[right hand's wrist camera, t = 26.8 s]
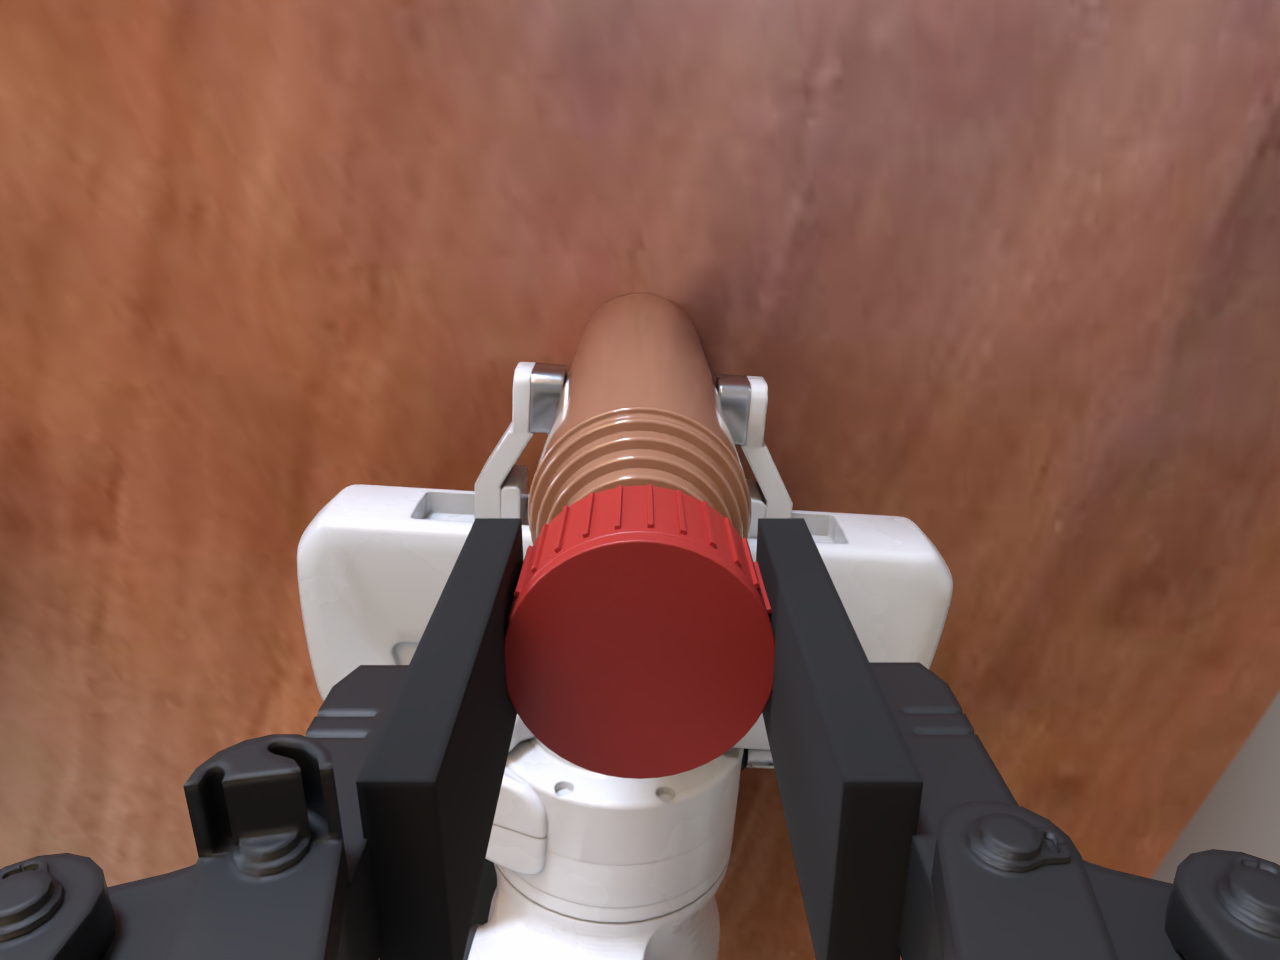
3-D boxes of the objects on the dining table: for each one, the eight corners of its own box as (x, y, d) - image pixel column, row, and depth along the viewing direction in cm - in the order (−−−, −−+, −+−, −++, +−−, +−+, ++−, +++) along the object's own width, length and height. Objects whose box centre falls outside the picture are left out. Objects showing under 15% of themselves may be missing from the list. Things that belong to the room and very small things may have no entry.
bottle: (556, 379, 33) (439, 687, 14) (614, 269, 32) (576, 443, 12) (662, 436, 34) (693, 804, 15) (724, 332, 32) (848, 585, 13)
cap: (495, 671, 15) (473, 751, 13) (546, 454, 14) (530, 505, 12) (721, 720, 16) (734, 807, 14) (792, 513, 14) (818, 573, 12)
